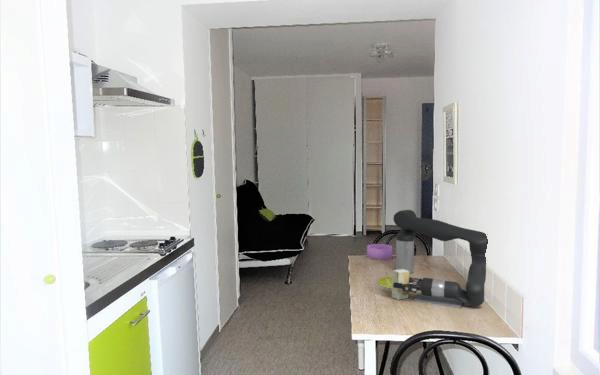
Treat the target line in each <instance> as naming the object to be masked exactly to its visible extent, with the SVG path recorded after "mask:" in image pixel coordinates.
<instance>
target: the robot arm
mask: <svg viewBox="0 0 600 375" xmlns="http://www.w3.org/2000/svg"><path fill="white" fill-rule="evenodd" d="M393 222H394V223H395V225H396V226H397V227H398V228H400V231H399V232H398V233H396V242H395V243H396V245H395V246H396V251H395V257H396V258H395V270H399V269H404V270H407V271H409V274H412V273H414V265H415V264H414V261H415V258H414V257H415V237H416V234H417V233H419V234H421V235H425V236H427V237H430V238H432V239H434V240H438V241H441V242H448V241H452V240H456V239H457V240H458V239H459V240H463V241H466V242H468V243H469V244H468V245H469V252H470V257H471V263H470V266H469V268H468V272H467V273H468V275H467V279H466V280H467V281H466V285H465V290H464V289H462V288H461V285H460V283H459V282H456V281H449V280H444V279H438V278H433V277H432V278H430V277H423V278H417V277H416V278H415V277H410V276H409V282H407V283H403V284H402V283H396V282H394V283H393V287H394V288H400V289H402V291H406V292H408V293H417V292H420V291H421V293H422V295H425V296H432V297H443V298H451V299H456V300H458V301H460V302H463V303H462V304H465V305H468V306H472V307H478V306H482V305H483V304H484V303H485V283H486V279H487V278H486V277H487V276H486V275H487V263H486V257H485V253H486V249H487V244H488V239H487V236H486V234H487V233H486V234H485V232H484V231H483V232H482V231H480V230H479V231H478V230H474V229H470V228H466V227H465V228H464V227H460V226H458V225H454V224H450V223H448V222H444V221H442V220H438V219H435V218H434V219H432V218H422V217H417V214H416V213H415V211H414V210H411V209H404V210H399V211H397V212H396V213H394V215H393ZM405 287H407V288H405ZM417 294H418V293H417Z"/></svg>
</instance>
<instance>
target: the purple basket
mask: <svg viewBox="0 0 600 375" xmlns="http://www.w3.org/2000/svg"><path fill="white" fill-rule="evenodd" d="M366 257H367V258H368V257H369V259H373V260H378V259H382V260H383V261H385V260H390V259H392V258H393V246H392V245H389V244H385V243H372V244H368V245H366Z"/></svg>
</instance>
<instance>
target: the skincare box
mask: <svg viewBox="0 0 600 375" xmlns="http://www.w3.org/2000/svg"><path fill="white" fill-rule="evenodd" d="M409 278H410V273H409V271H407V270H404V269H399V270H396V269H394V270H392V279H391V280H392V281H391V298H393V299H395V300H398V301H399V300H405V299H409V292H406V291H402V289H400V288H394V287H393V283H394V282H396V283H402V284H403V283H407V282H409ZM405 288H407V287H405Z"/></svg>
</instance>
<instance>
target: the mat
mask: <svg viewBox="0 0 600 375" xmlns="http://www.w3.org/2000/svg"><path fill="white" fill-rule="evenodd" d="M418 292H419V293H417V295H416V297H415V298H414V300H413V301H414V302H415V303H422V304H423V303H425V304H429V303H430V304H429V305H437V306H444V307H451V308H457V309H461V308H462V305H463V304H464V303H463V302H460V301H458V300H456V299H451V298H443V297H432V296H425V295H422V293H421V291H418Z"/></svg>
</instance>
